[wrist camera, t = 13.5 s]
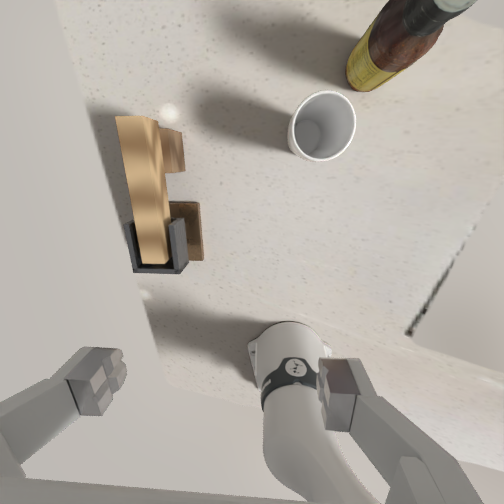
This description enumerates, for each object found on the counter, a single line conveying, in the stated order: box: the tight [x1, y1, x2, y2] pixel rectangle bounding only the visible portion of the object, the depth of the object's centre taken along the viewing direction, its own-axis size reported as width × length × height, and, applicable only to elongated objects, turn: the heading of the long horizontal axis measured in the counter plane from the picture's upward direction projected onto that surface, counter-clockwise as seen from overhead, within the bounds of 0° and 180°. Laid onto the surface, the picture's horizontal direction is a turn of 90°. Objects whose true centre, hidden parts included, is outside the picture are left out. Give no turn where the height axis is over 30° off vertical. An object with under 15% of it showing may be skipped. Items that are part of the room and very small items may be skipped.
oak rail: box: [115, 116, 172, 264], centre depth 35 cm, size 20×4×4 cm, turn 0°
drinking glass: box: [287, 90, 356, 162], centre depth 32 cm, size 7×7×15 cm
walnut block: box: [159, 129, 185, 173], centre depth 38 cm, size 6×6×6 cm
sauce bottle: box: [346, 0, 477, 92], centre depth 25 cm, size 7×6×20 cm
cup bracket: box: [124, 203, 204, 274], centre depth 41 cm, size 11×10×10 cm
